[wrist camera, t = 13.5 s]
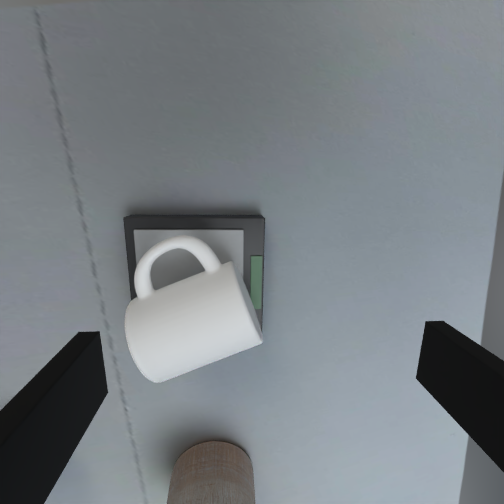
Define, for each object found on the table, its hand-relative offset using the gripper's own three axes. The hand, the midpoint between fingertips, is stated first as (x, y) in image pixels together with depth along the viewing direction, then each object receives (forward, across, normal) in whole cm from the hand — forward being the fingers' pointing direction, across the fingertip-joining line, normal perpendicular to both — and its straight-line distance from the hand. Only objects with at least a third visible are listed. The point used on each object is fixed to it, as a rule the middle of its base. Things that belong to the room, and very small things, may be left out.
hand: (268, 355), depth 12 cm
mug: (+18, -5, -4) cm, 20 cm away
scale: (+21, -5, -4) cm, 22 cm away
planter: (+21, -4, -32) cm, 38 cm away
